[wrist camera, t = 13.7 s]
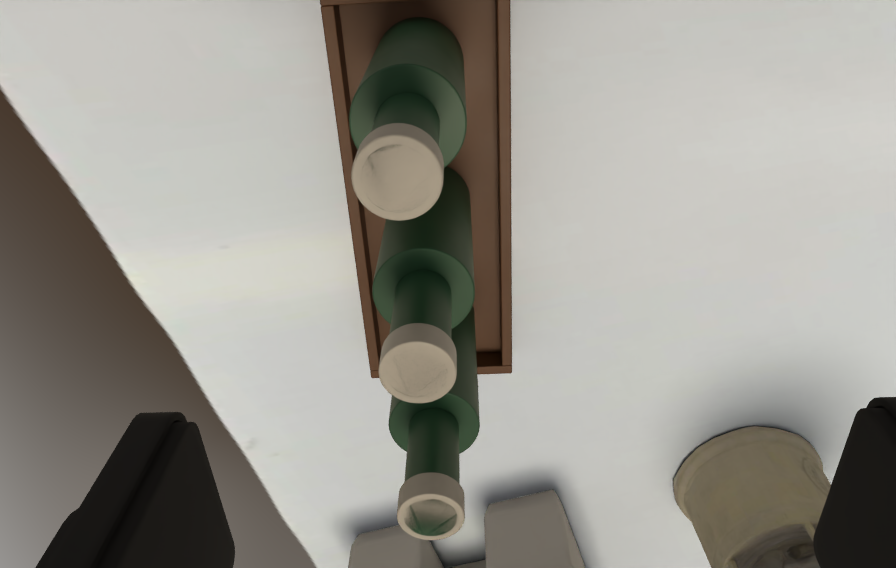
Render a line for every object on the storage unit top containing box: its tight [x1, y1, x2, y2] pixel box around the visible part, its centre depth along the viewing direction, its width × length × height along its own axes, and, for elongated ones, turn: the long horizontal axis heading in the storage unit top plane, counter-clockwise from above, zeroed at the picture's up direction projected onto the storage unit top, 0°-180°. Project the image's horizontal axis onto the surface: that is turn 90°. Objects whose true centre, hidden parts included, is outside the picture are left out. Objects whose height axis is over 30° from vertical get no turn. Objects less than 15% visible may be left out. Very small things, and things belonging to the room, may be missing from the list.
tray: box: [320, 0, 512, 378], centre depth 37 cm, size 22×9×2 cm, turn 3°
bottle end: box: [389, 306, 480, 540], centre depth 35 cm, size 4×4×16 cm
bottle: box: [349, 17, 467, 221], centre depth 27 cm, size 4×4×16 cm
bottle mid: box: [372, 166, 475, 403], centre depth 31 cm, size 4×4×16 cm
